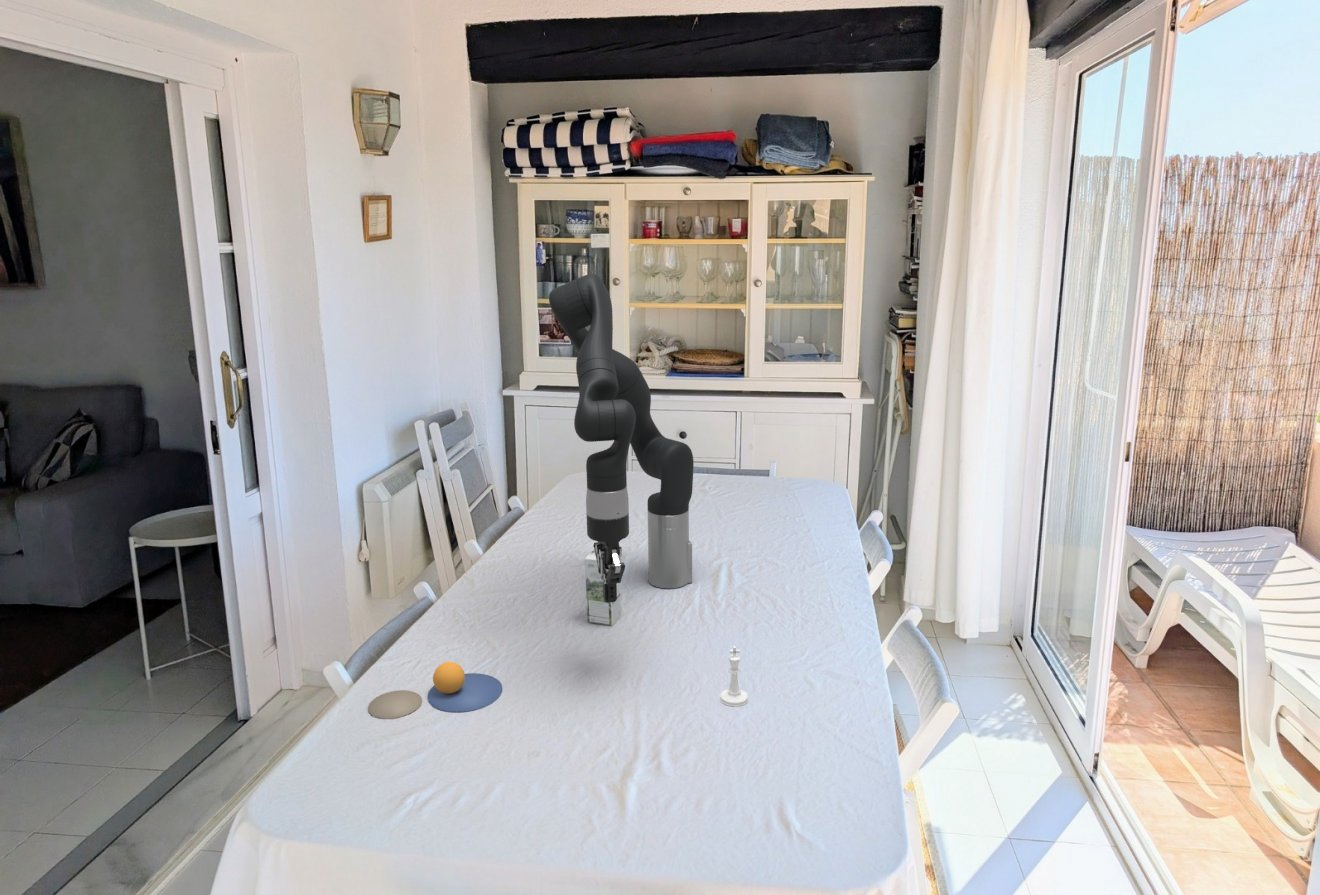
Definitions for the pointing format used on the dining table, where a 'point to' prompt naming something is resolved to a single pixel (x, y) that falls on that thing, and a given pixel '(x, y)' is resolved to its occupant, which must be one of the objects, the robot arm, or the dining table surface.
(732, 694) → the chess piece
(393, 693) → the disc
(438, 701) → the disc
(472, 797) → the dining table surface
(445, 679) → the ball
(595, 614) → the syrup box
